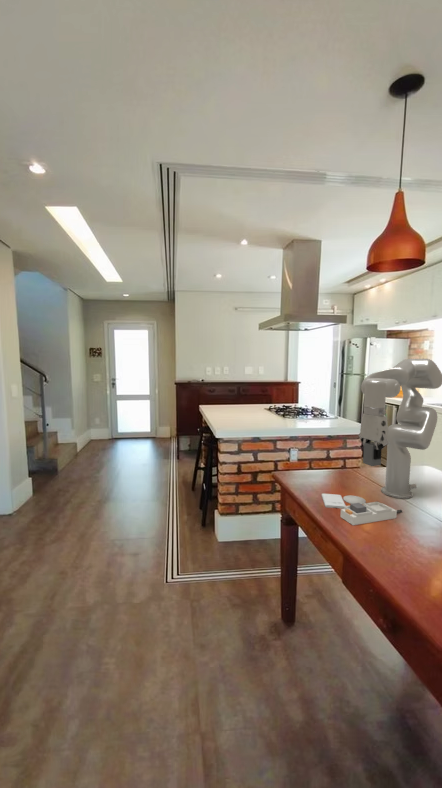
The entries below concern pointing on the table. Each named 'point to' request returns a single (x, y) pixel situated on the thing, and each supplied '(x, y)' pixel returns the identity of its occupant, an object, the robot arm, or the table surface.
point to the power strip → (367, 513)
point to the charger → (370, 455)
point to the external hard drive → (333, 501)
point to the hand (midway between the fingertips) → (372, 456)
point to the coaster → (354, 499)
